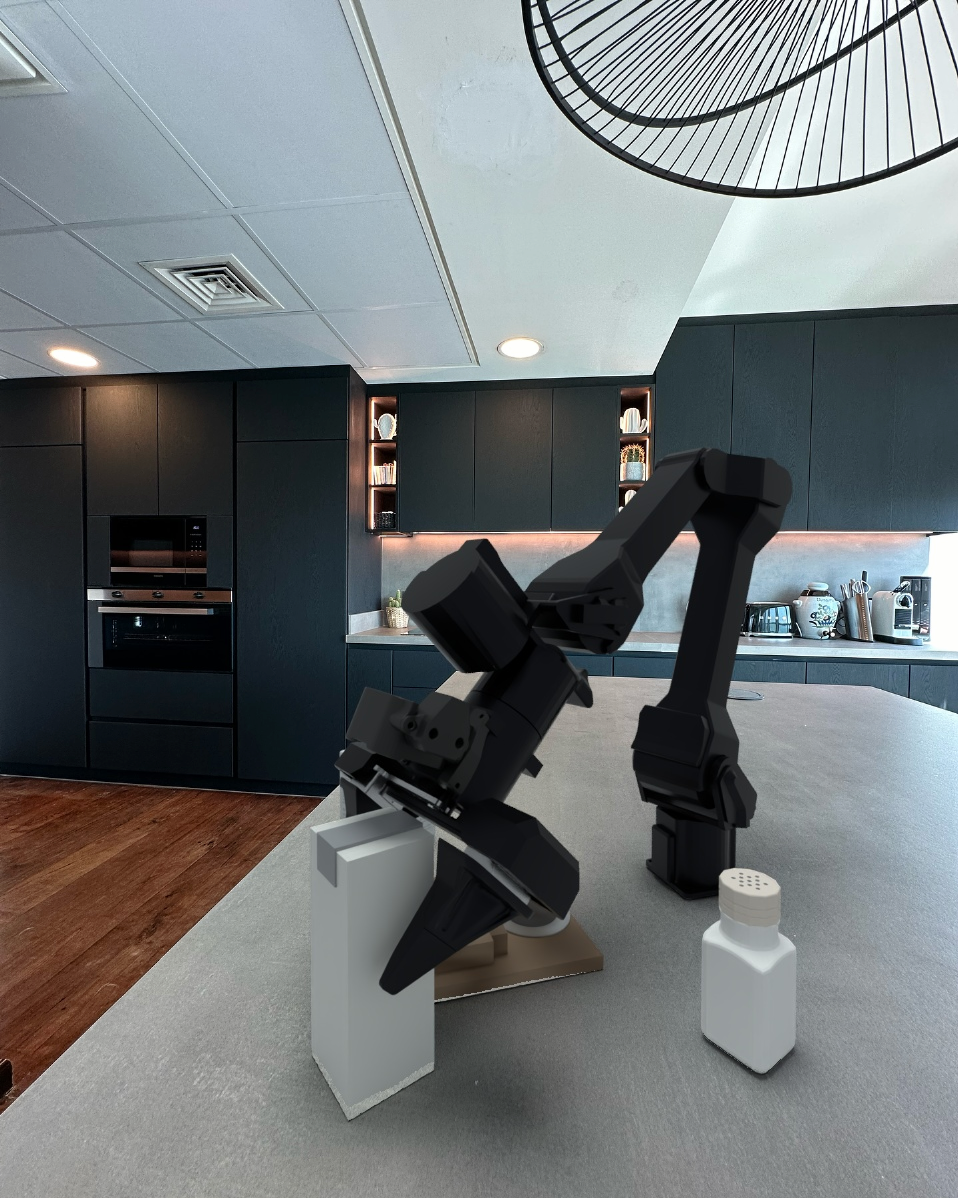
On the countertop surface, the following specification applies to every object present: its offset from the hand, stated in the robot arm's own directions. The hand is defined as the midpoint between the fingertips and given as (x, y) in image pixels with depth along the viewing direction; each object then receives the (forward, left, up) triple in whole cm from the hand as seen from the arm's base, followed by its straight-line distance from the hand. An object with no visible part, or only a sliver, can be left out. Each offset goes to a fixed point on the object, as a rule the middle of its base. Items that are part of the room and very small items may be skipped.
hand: (348, 949), depth 31 cm
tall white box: (-1, 0, -7) cm, 7 cm away
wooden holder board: (-9, -10, -7) cm, 15 cm away
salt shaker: (-22, +4, -7) cm, 24 cm away
